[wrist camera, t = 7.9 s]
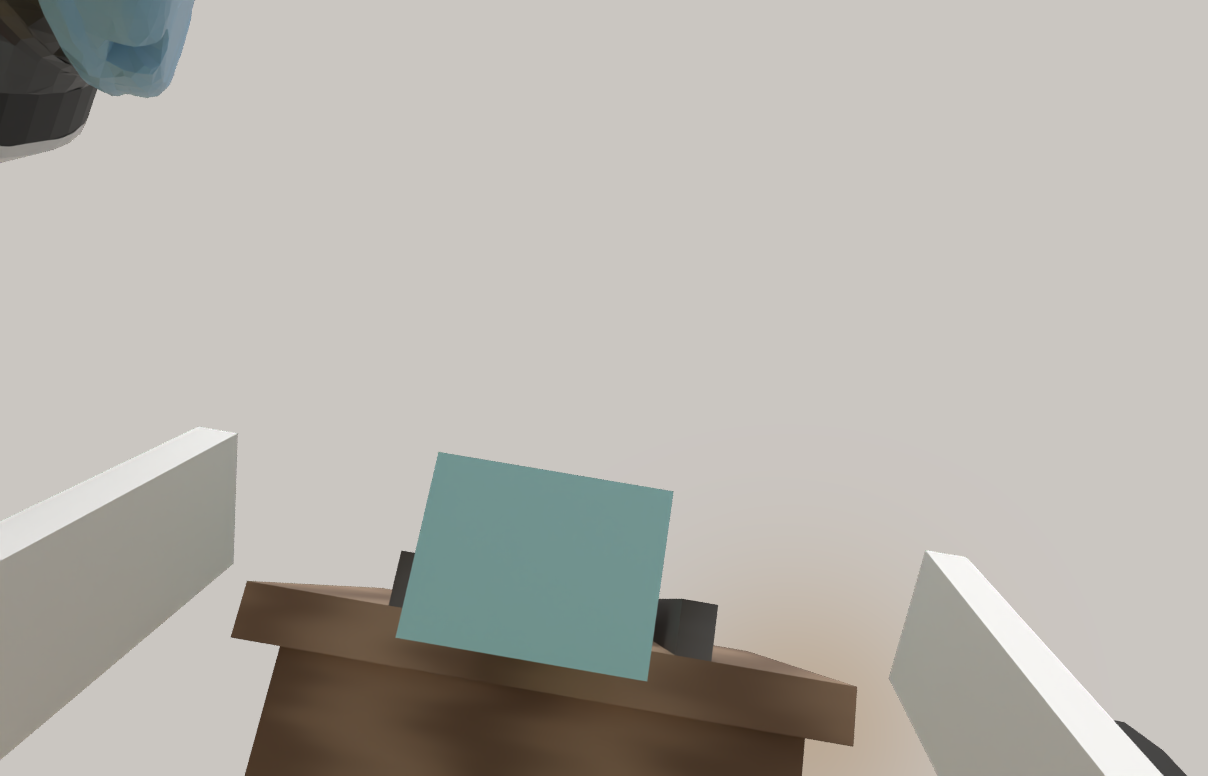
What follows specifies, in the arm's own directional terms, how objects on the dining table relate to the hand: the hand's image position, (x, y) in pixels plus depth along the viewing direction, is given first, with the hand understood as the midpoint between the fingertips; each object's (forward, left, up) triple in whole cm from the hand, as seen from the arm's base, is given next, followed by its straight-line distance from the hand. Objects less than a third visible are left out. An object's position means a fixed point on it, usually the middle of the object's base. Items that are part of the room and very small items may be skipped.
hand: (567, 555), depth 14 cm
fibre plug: (0, +10, -2) cm, 10 cm away
